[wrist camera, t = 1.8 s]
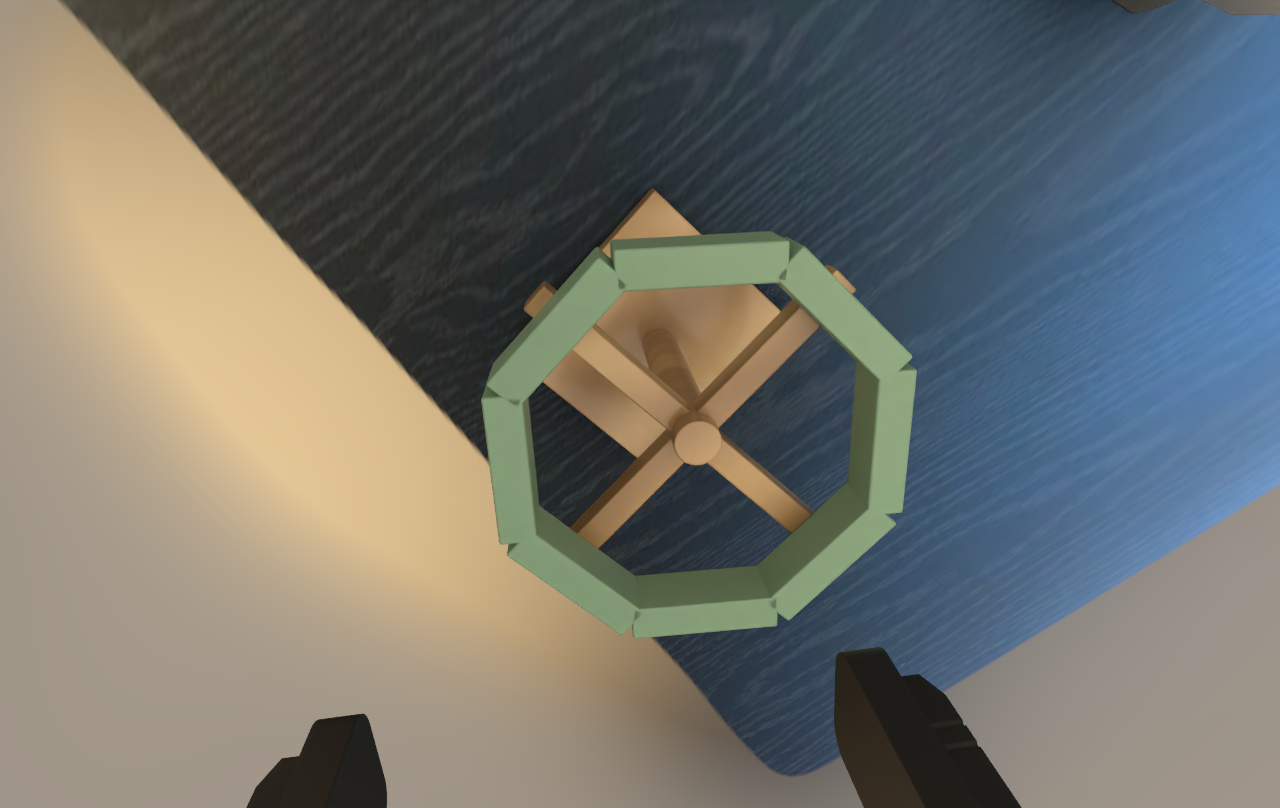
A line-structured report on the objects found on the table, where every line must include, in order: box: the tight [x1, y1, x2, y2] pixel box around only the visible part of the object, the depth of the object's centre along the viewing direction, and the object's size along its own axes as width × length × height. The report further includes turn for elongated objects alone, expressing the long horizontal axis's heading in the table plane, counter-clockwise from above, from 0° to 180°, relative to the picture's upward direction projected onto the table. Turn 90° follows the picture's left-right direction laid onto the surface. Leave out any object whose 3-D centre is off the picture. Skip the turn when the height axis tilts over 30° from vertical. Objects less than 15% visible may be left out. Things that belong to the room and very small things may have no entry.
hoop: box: [481, 231, 917, 638], centre depth 24 cm, size 13×13×2 cm
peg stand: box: [524, 188, 856, 549], centre depth 30 cm, size 14×14×13 cm
